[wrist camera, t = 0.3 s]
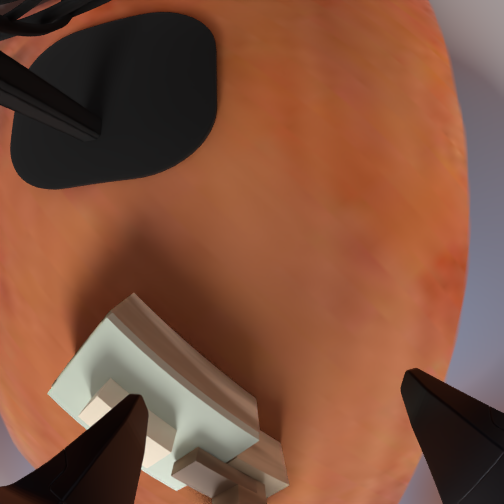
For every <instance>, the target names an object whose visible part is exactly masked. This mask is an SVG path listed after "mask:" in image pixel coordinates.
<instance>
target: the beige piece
mask: <svg viewBox="0 0 504 504" xmlns="http://www.w3.org/2000/svg"><path fill="white" fill-rule="evenodd" d="M111 313H113V314H114V315H115V316H116V317H117V318H118V319H119V320H120V321H121V322H122V323H123V324H124V325H125V326H126V327H128V328H129V329H130V330H131V331H132V332H133V333H134V334H135V335H136V336H137V337H138V338H139V339H140V340H141V341H142V342H143V343H145V344H146V345H147V346H148V347H149V348H150V349H151V350H152V351H153V352H155V353H156V354H157V355H158V356H159V357H160V358H161V359H162V360H164V361H165V362H166V363H167V364H168V365H169V366H171V367H172V368H173V369H174V370H175V371H177V372H178V373H179V374H180V375H181V376H183V377H184V378H185V379H186V380H188V381H189V382H190V383H191V384H193V385H194V386H195V387H196V388H198V389H199V390H200V391H201V392H203V393H204V394H205V395H207V396H208V397H209V398H211V399H212V400H213V401H215V402H216V403H217V404H219V405H220V406H221V407H223V408H224V409H225V410H227V411H228V412H230V413H231V414H232V415H234V416H235V417H237V418H238V419H240V420H241V421H242V422H244V423H245V424H247V425H248V426H250V427H251V428H253V429H254V430H256V431H257V432H258V433H259V441H258V442H256V443H255V444H253V445H252V446H250V447H249V448H248V449H246V450H245V451H243V452H242V453H240V454H239V455H237V456H235V457H234V458H232V459H231V460H229V461H228V462H226V464H228V465H229V466H231V467H233V468H235V469H237V470H238V471H240V472H242V473H244V474H246V475H248V476H250V477H251V478H253V479H255V480H257V481H259V482H261V483H263V484H265V491H266V498H268V497H269V496H271V495H273V494H275V493H277V492H279V491H280V490H282V489H284V488H285V487H287V486H289V481H288V476H287V471H286V466H285V461H284V456H283V451H282V446H281V443H280V442H278V441H277V440H275V439H273V438H272V437H270V436H269V435H267V434H266V433H264V432H263V431H261V430H260V427H259V419H258V410H257V401H256V398H255V397H253V396H252V395H251V394H249V393H248V392H247V391H245V390H244V389H243V388H242V387H240V386H239V385H238V384H236V383H235V382H234V381H233V380H231V379H230V378H229V377H228V376H226V375H225V374H224V373H223V372H221V371H220V370H219V369H218V368H216V367H215V366H214V365H213V364H212V363H210V362H209V361H208V360H207V359H206V358H204V357H203V356H202V355H201V354H200V353H199V352H197V351H196V350H195V349H194V348H193V347H192V346H191V345H189V344H188V343H187V342H186V341H185V340H184V339H183V338H181V337H180V336H179V335H178V334H177V333H176V332H175V331H174V330H173V329H171V328H170V327H169V326H168V325H167V324H166V323H165V322H164V321H163V320H162V319H161V318H160V317H159V316H158V315H156V314H155V313H154V312H153V311H152V310H151V309H150V308H149V307H148V306H147V305H146V304H145V303H144V302H143V301H142V300H141V299H140V298H139V297H138V296H137V295H136V294H135V293H132V294H131V295H130V296H128V297H127V298H126V299H125V300H123V301H122V302H121V303H119V304H118V305H117V306H115V307H114V308H113V309H112V310H110V311H109V313H108V314H107V315H106V316H105V318H104V319H103V320H102V321H101V322H100V324H99V325H98V326H97V327H96V329H95V330H94V331H93V332H92V334H91V335H90V336H89V337H88V339H87V340H86V341H85V342H84V344H83V345H82V346H81V347H80V349H79V350H78V351H77V353H76V354H75V355H74V356H73V358H72V359H71V360H70V362H69V363H68V364H67V366H66V367H65V368H64V370H65V369H66V368H67V367H68V365H69V364H70V363H71V361H72V360H73V359H74V357H75V356H76V355H77V354H78V352H79V351H80V350H81V348H82V347H83V346H84V345H85V343H86V342H87V341H88V340H89V338H90V337H91V336H92V335H93V333H94V332H95V331H96V330H97V328H98V327H99V326H100V325H101V324H102V322H103V321H104V320H105V319H106V318H107V317H108V316H109V315H110V314H111ZM64 370H63V371H62V372H61V374H62V373H63V372H64ZM61 374H60V375H59V376H58V378H59V377H60V376H61ZM58 378H57V379H56V380H55V382H56V381H57V380H58ZM55 382H54V383H53V384H52V387H53V385H54V384H55Z"/></svg>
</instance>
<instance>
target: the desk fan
mask: <svg viewBox="0 0 504 504" xmlns="http://www.w3.org/2000/svg"><path fill="white" fill-rule="evenodd" d="M14 1H17V0H0V5H2V4H6V3H10V2H14ZM41 1H42V0H25V1H24V2H23V3H21V4H20V5H18V6H17V7H15V8H14V9H12V10H11V11H9V12H8V13H6V14H4V15H3V16H2V15H0V41H2V40H5V39H8V38H11V37H14V36H41V35H45V34H48V33H50V32H53V31H55V30H58V29H60V28H62V27H64V26H65V25H67V24H68V23H69V22H70V20H71V19H72V17H75V16H77V15H80V14H82V13H84V12H87V11H89V10H92V9H94V8H96V7H98V6H100V5H103V4H105V3H107V2H109V1H111V0H61V2H59V3H57V4H55V5H53V6H51V7H49V8H47V9H45V10H42V11H40V12H38V13H35V14H33V15H31V16H28V17H25V18H23V19H19V20H17V19H18V18H20V17H21V16H23V15H24V14H25V13H27V12H28V11H30V10H31V9H32V8H33V7H35V6H36V5H37V4H38V3H39V2H41ZM0 105H2V106H4V107H6V108H9V109H11V110H13V111H15V113H14V119H13V127H12V135H11V146H10V152H11V159H12V163H13V166H14V168H15V170H16V172H17V173H18V175H19V176H20V177H21V178H22V179H23V180H24V181H25V182H27V183H29V184H30V185H32V186H35V187H38V188H43V189H65V188H71V187H77V186H84V185H90V184H97V183H105V182H112V181H120V180H128V179H136V178H142V177H147V176H150V175H154V174H157V173H160V172H162V171H165V170H167V169H169V168H171V167H173V166H175V165H177V164H178V163H180V162H182V161H183V160H185V159H186V158H187V157H189V156H190V155H191V154H192V153H193V152H195V151H196V150H197V149H198V148H199V147H200V146H201V144H202V143H203V142H204V141H205V139H206V138H207V136H208V135H209V133H210V132H211V129H212V127H213V125H214V122H215V118H216V113H217V63H216V43H215V39H214V36H213V34H212V33H211V31H210V30H209V29H208V28H207V27H206V26H205V25H204V24H203V23H201V22H200V21H198V20H196V19H194V18H192V17H189V16H187V15H183V14H179V13H172V12H155V13H147V14H141V15H136V16H132V17H127V18H123V19H119V20H115V21H111V22H107V23H104V24H100V25H97V26H94V27H90V28H87V29H84V30H81V31H78V32H75V33H73V34H70V35H68V36H66V37H64V38H62V39H61V40H59V41H57V42H56V43H54V44H53V45H52V46H50V47H49V48H48V49H46V50H45V51H44V52H43V53H42V54H41V55H40V56H39V57H38V58H37V59H36V60H35V61H34V63H33V64H32V65H31V66H30V68H29V69H27V68H26V67H24V66H23V65H21V64H20V63H18V62H17V61H15V60H14V59H12V58H11V57H9V56H8V55H6V54H5V53H3V52H2V51H0Z"/></svg>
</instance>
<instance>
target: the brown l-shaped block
mask: <svg viewBox="0 0 504 504" xmlns="http://www.w3.org/2000/svg"><path fill="white" fill-rule="evenodd" d="M171 476H172V477H173V478H175V479H177V480H179V481H180V482H182V483H184V484H186V485H187V486H189V487H191V488H193V489H195V490H197V491H199V492H201V493H203V494H204V495H206V496H208V497H210V498H212V504H267V499H266V491H265V484H263V483H261V482H259V481H257V480H255V479H253V478H251V477H250V476H248V475H246V474H244V473H242V472H240V471H238V470H237V469H235V468H233V467H231V466H229V465H228V464H226V463H224V462H222V461H221V460H219V459H217V458H216V457H214V456H212V455H211V454H209V453H208V452H206V451H204V450H203V449H201V448H200V447H197V448H195V449H194V450H192V451H191V452H189V453H188V454H186V455H185V456H183V457H182V458H180V459H178V460H177V461H175V462H174V464H173V469H172V473H171Z"/></svg>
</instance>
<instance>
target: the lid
mask: <svg viewBox="0 0 504 504" xmlns="http://www.w3.org/2000/svg"><path fill="white" fill-rule="evenodd" d="M47 394H48V395H49V396H50V397H51V398H52V399H53V400H54V401H55V402H57V403H58V404H59V405H60V406H61V407H62V408H63V409H64V410H65V411H66V412H67V413H68V414H69V415H70V416H72V417H73V418H74V419H75V420H76V421H77V422H78V423H80V424H81V425H82V426H83V427H84V428H85V429H89V428H90V427H91V426H92V425H93V424H95V423H96V422H97V421H98V420H99V419H100V418H102V417H103V416H104V415H105V414H106V413H108V412H109V411H110V410H111V409H112V408H113V407H115V406H116V405H117V404H118V403H119V402H120V401H122V400H123V399H124V398H125V397H126V396H127V395H129V394H140V395H142V397H143V399H144V401H145V404H146V406H147V409H148V412H149V418H148V427H147V436H146V446H145V453H144V458H143V463H142V467H141V470H143V471H144V472H146V473H147V474H149V475H150V476H152V477H154V478H155V479H157V480H159V481H160V482H162V483H164V484H165V485H167V486H169V487H171V488H172V489H174V490H176V491H177V490H179V489H181V488H183V487H185V486H187V485H186V484H184V483H182V482H180V481H179V480H177V479H175V478H173V477H172V476H171V473H172V469H173V464H174V462H175V461H177V460H178V459H180V458H182V457H183V456H185V455H186V454H188V453H189V452H191V451H192V450H194V449H195V448H197V447H200V448H201V449H203V450H204V451H206V452H208V453H209V454H211V455H212V456H214V457H216V458H217V459H219V460H221V461H222V462H224V463H226V462H228V461H229V460H231V459H232V458H234V457H235V456H237V455H239V454H240V453H242V452H243V451H245V450H246V449H248V448H249V447H250V446H252V445H253V444H255V443H256V442H258V441H259V433H258V432H257V431H256V430H254V429H253V428H251V427H250V426H248V425H247V424H245V423H244V422H242V421H241V420H240V419H238V418H237V417H235V416H234V415H232V414H231V413H230V412H228V411H227V410H225V409H224V408H223V407H221V406H220V405H219V404H217V403H216V402H215V401H213V400H212V399H211V398H209V397H208V396H207V395H205V394H204V393H203V392H201V391H200V390H199V389H198V388H196V387H195V386H194V385H193V384H191V383H190V382H189V381H188V380H186V379H185V378H184V377H183V376H181V375H180V374H179V373H178V372H177V371H175V370H174V369H173V368H172V367H171V366H169V365H168V364H167V363H166V362H165V361H164V360H162V359H161V358H160V357H159V356H158V355H157V354H156V353H155V352H153V351H152V350H151V349H150V348H149V347H148V346H147V345H146V344H145V343H143V342H142V341H141V340H140V339H139V338H138V337H137V336H136V335H135V334H134V333H133V332H132V331H131V330H130V329H129V328H128V327H126V326H125V325H124V324H123V323H122V322H121V321H120V320H119V319H118V318H117V317H116V316H115V315H114V314H113V313H111V314H110V315H109V316H108V317H107V318H106V319H105V320H104V321H103V322H102V324H101V325H100V326H99V327H98V328H97V330H96V331H95V332H94V333H93V335H92V336H91V337H90V338H89V340H88V341H87V342H86V343H85V345H84V346H83V347H82V348H81V350H80V351H79V352H78V354H77V355H76V356H75V357H74V359H73V360H72V361H71V363H70V364H69V365H68V367H67V368H66V369H65V370H64V372H63V373H62V374H61V376H60V377H59V378H58V380H57V381H56V382H55V384H54V385H53V387H52V388H51V389H50V391H49V392H48V393H47Z"/></svg>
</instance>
